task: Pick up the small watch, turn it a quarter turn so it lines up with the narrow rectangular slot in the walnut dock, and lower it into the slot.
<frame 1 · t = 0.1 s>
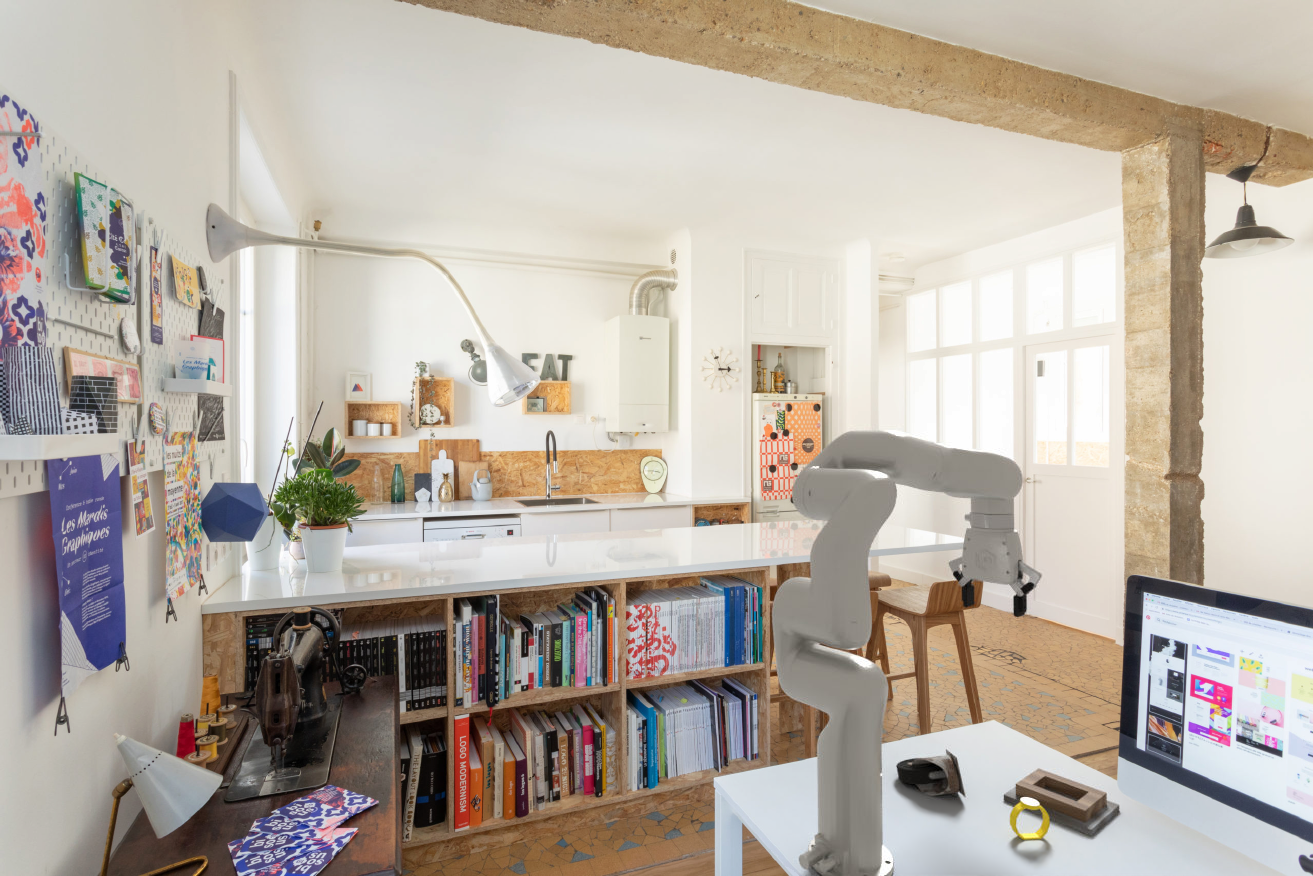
hand: (993, 610, 132), 31 cm above the table, tool pointing down, fingers open, 9 cm apart
dock: (1060, 805, 120), on the table
caster wheel: (927, 788, 127), on the table
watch: (1029, 838, 111), on the table
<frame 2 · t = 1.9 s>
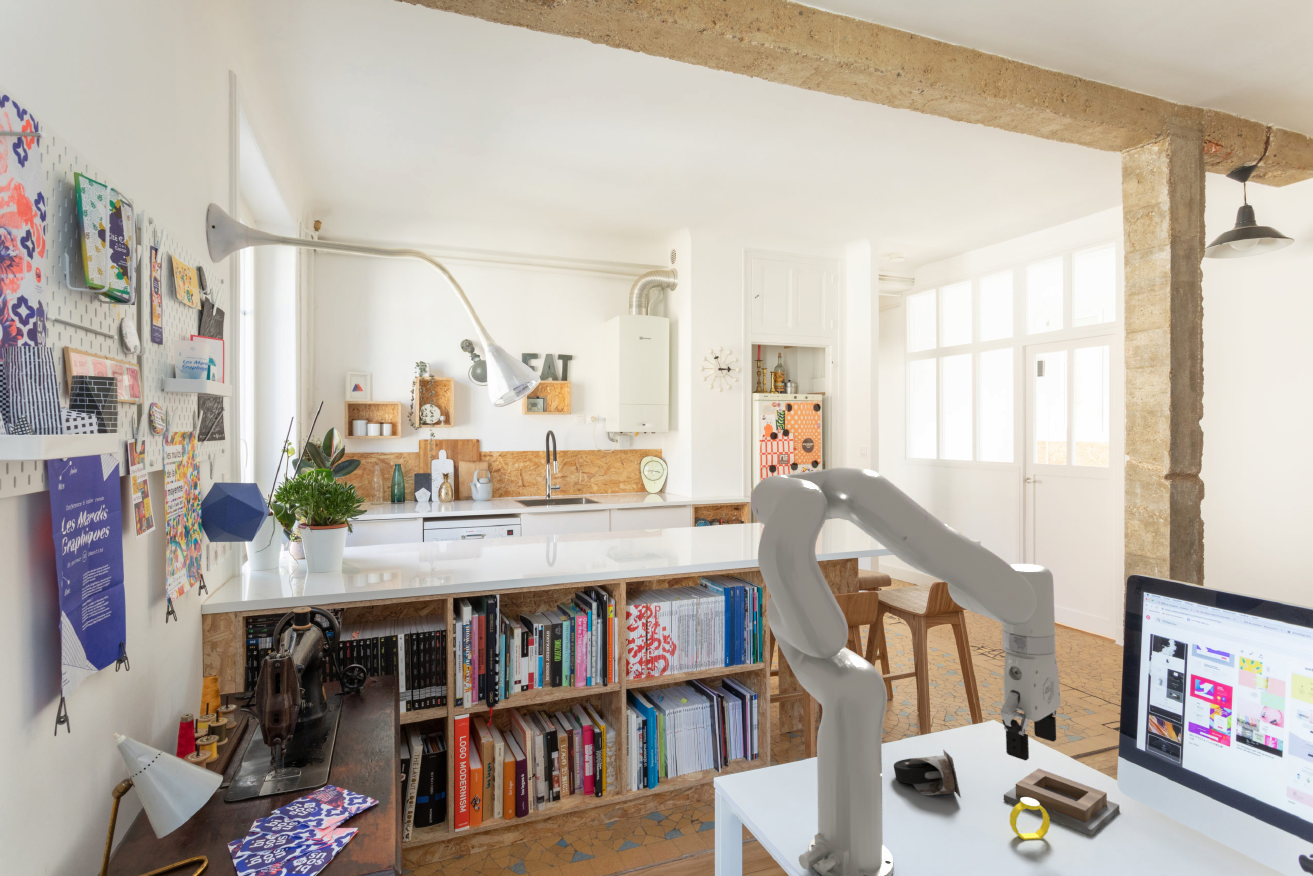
hand: (1031, 747, 111), 14 cm above the table, tool pointing down, fingers open, 9 cm apart
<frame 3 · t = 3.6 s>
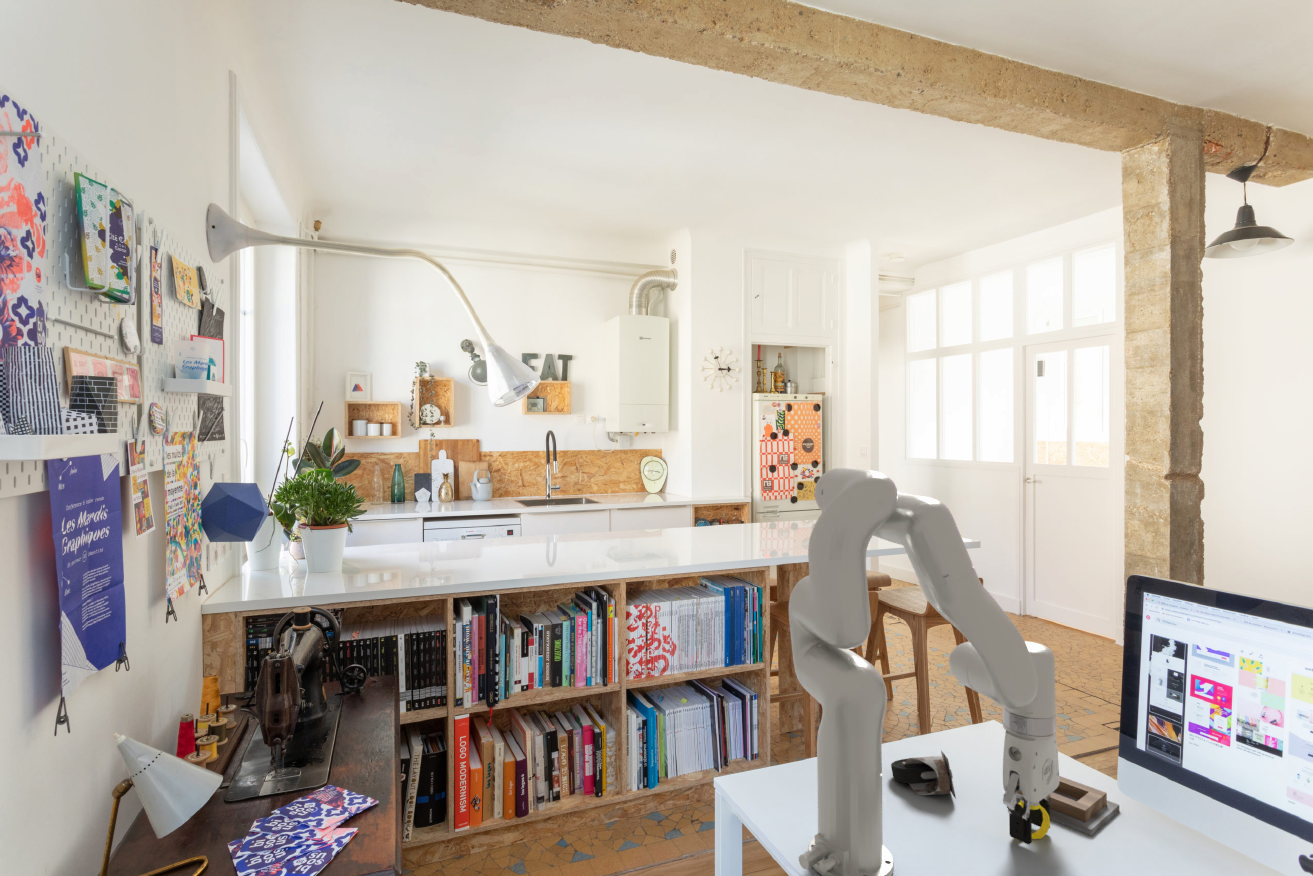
hand: (1029, 831, 111), 1 cm above the table, tool pointing down, fingers closed on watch, 5 cm apart
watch: (1029, 838, 111), on the table, touching gripper
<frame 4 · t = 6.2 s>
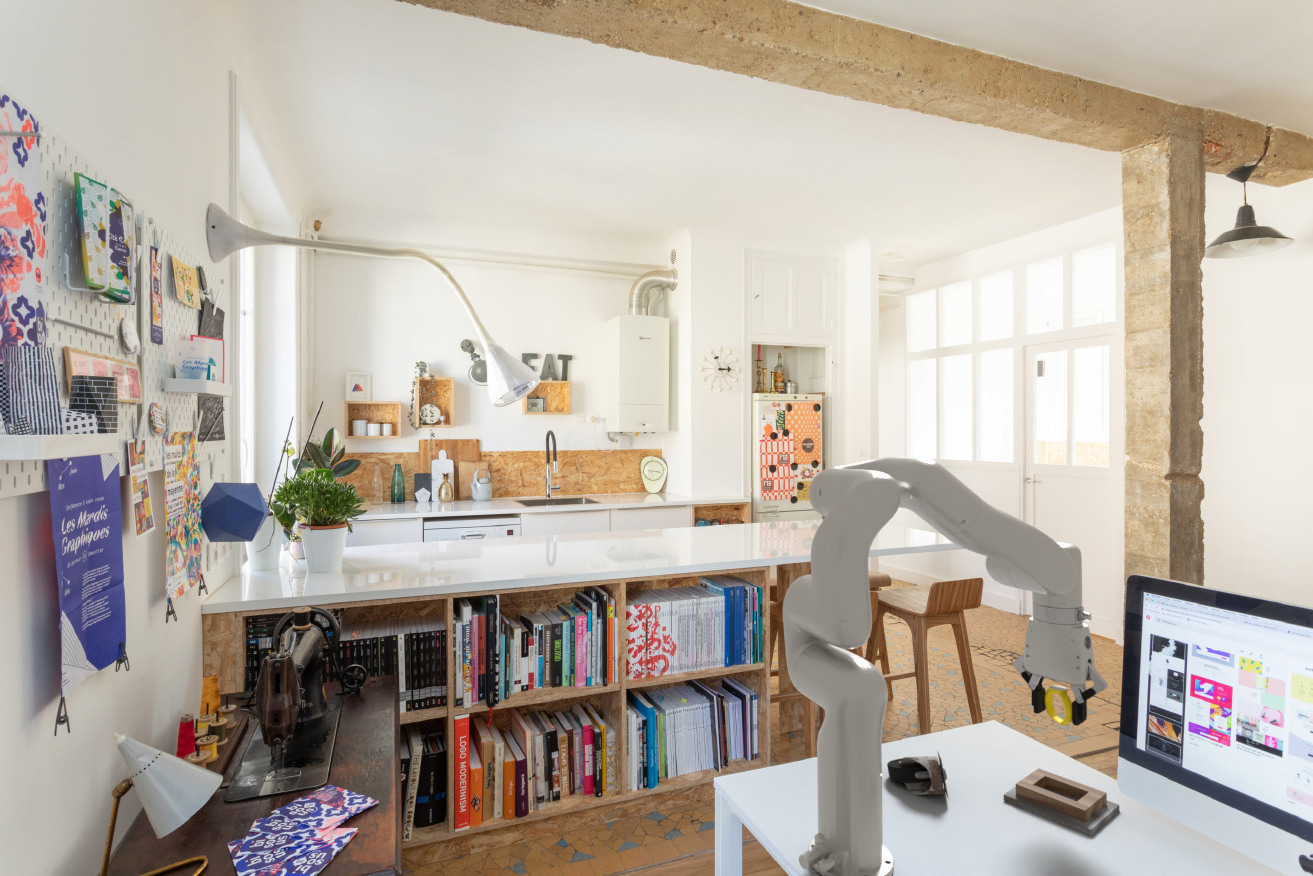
hand: (1058, 716, 120), 16 cm above the table, tool pointing down, fingers closed on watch, 5 cm apart
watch: (1058, 722, 120), point 15 cm above the table, touching gripper
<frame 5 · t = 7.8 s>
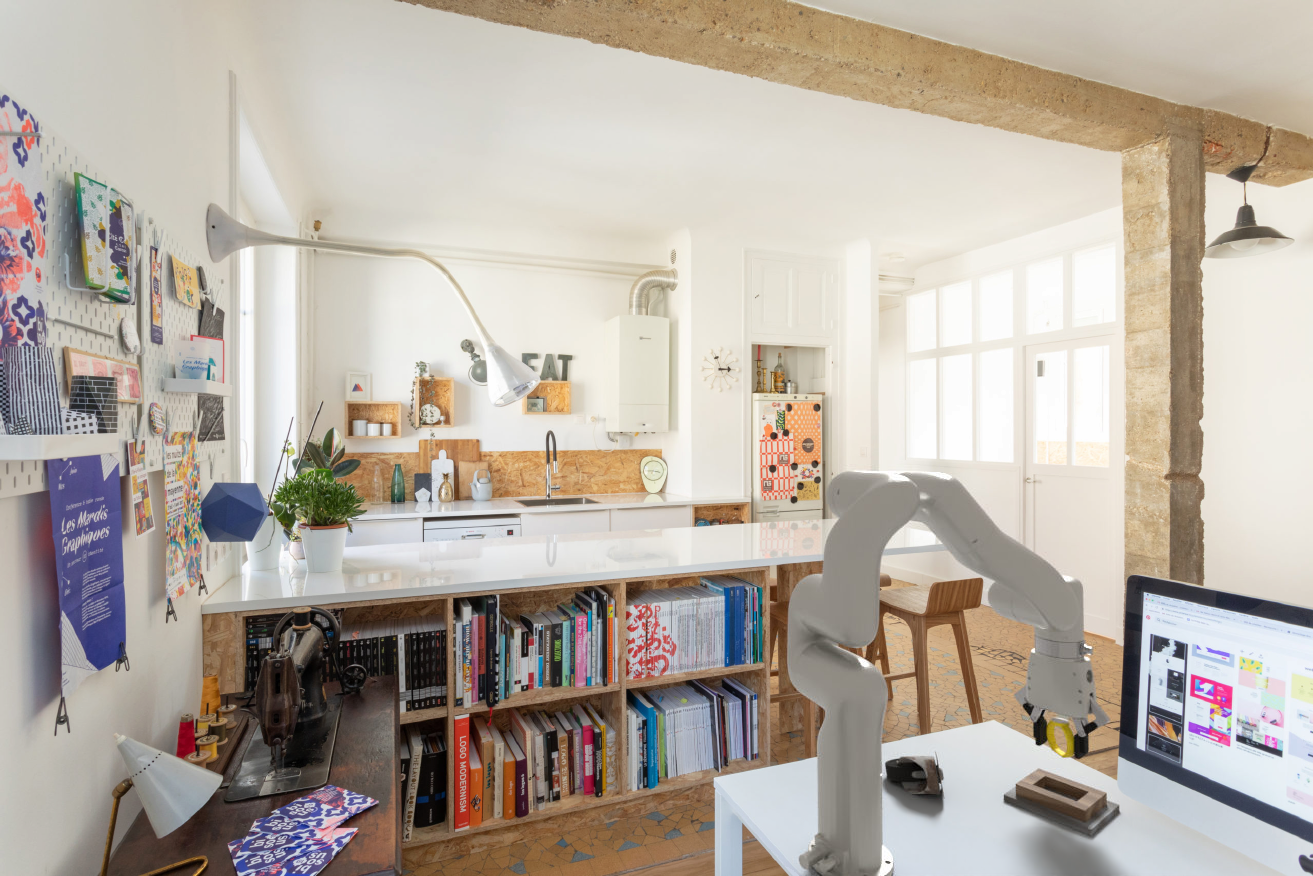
hand: (1060, 748, 120), 10 cm above the table, tool pointing down, fingers closed on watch, 5 cm apart
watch: (1060, 754, 120), point 9 cm above the table, touching gripper
when the fingers open (5 cm above the table, at t = 9.1 s): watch drops 3 cm, resting on dock.
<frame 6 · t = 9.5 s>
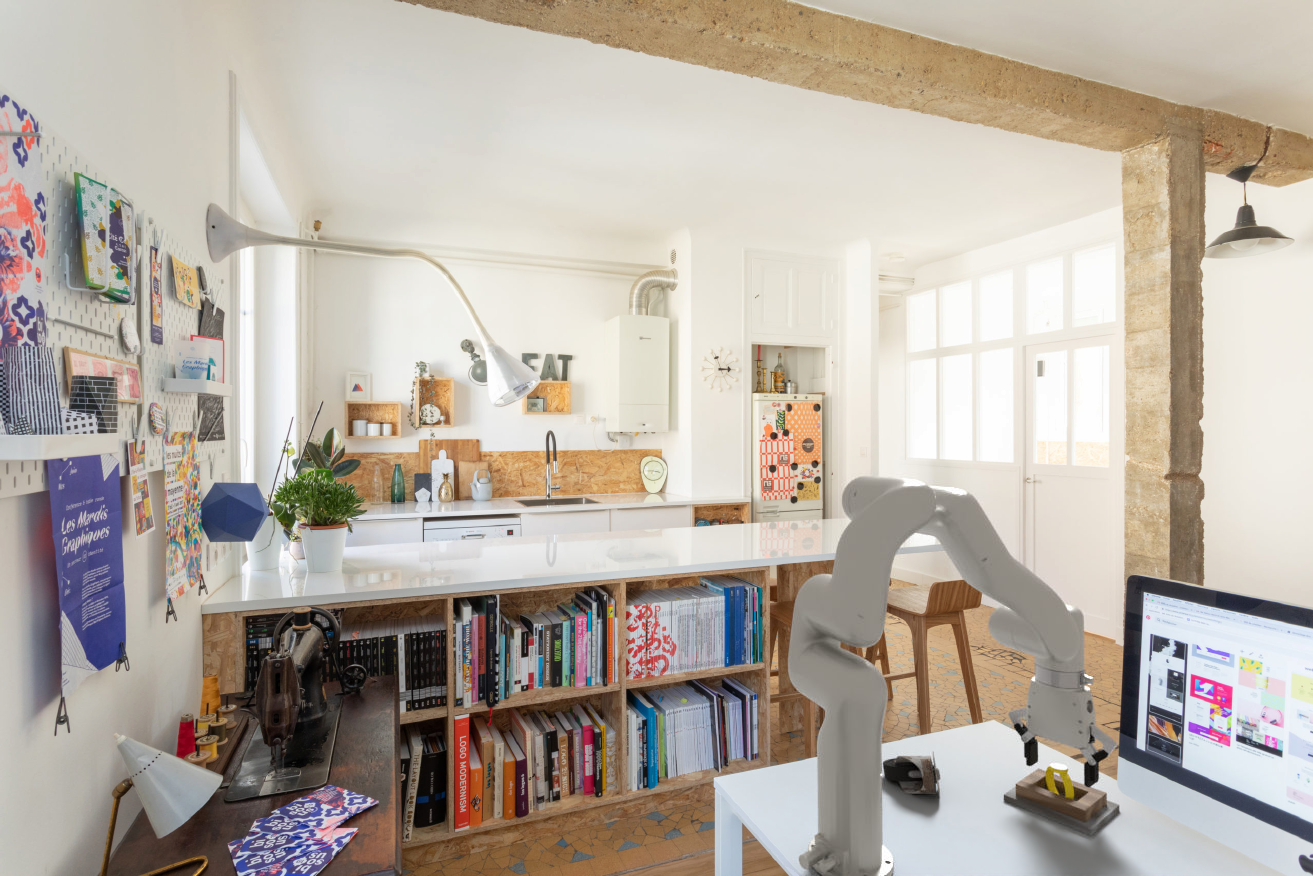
hand: (1060, 773, 120), 6 cm above the table, tool pointing down, fingers open, 9 cm apart
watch: (1059, 801, 120), point 1 cm above the table, touching dock
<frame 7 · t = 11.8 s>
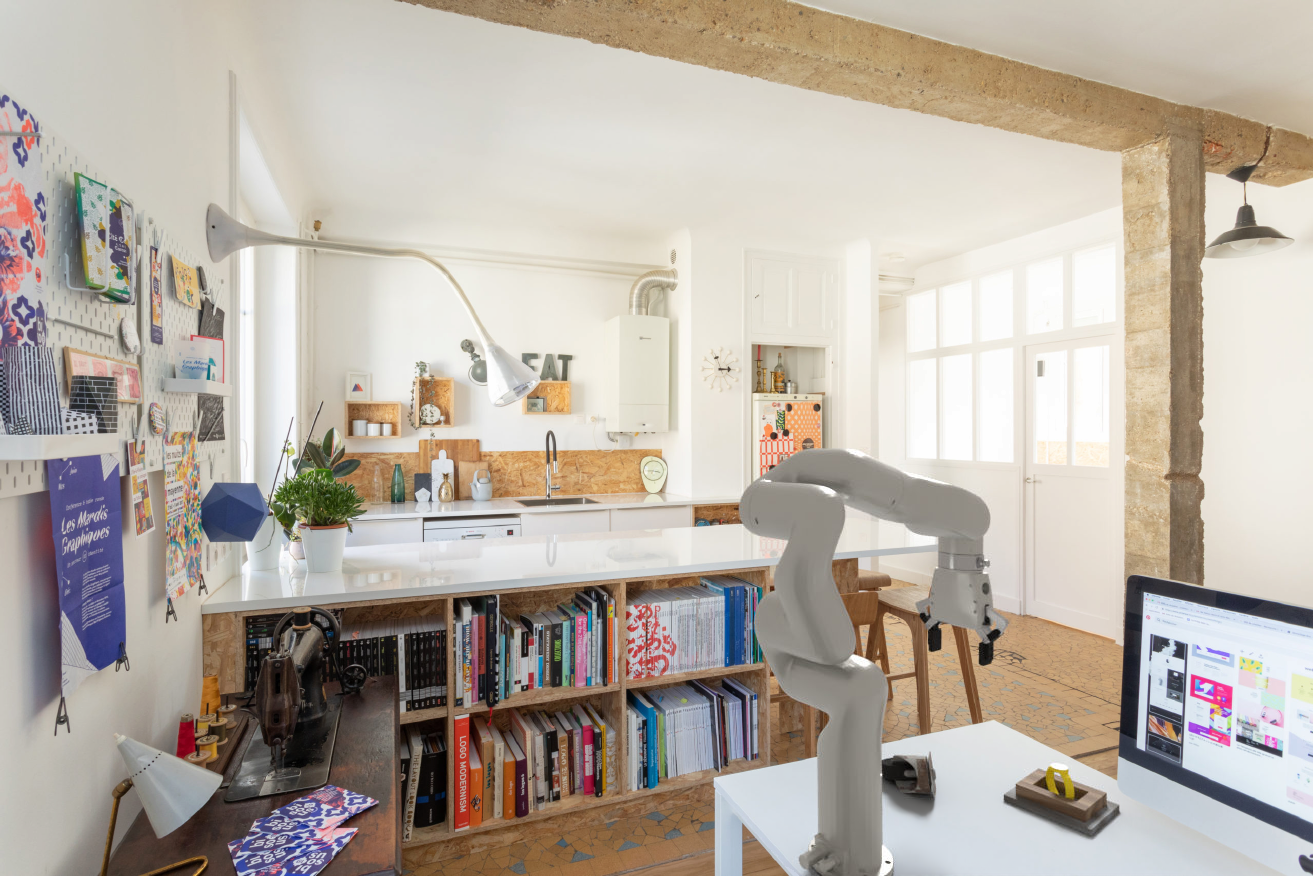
hand: (959, 657, 124), 25 cm above the table, tool pointing down, fingers open, 9 cm apart
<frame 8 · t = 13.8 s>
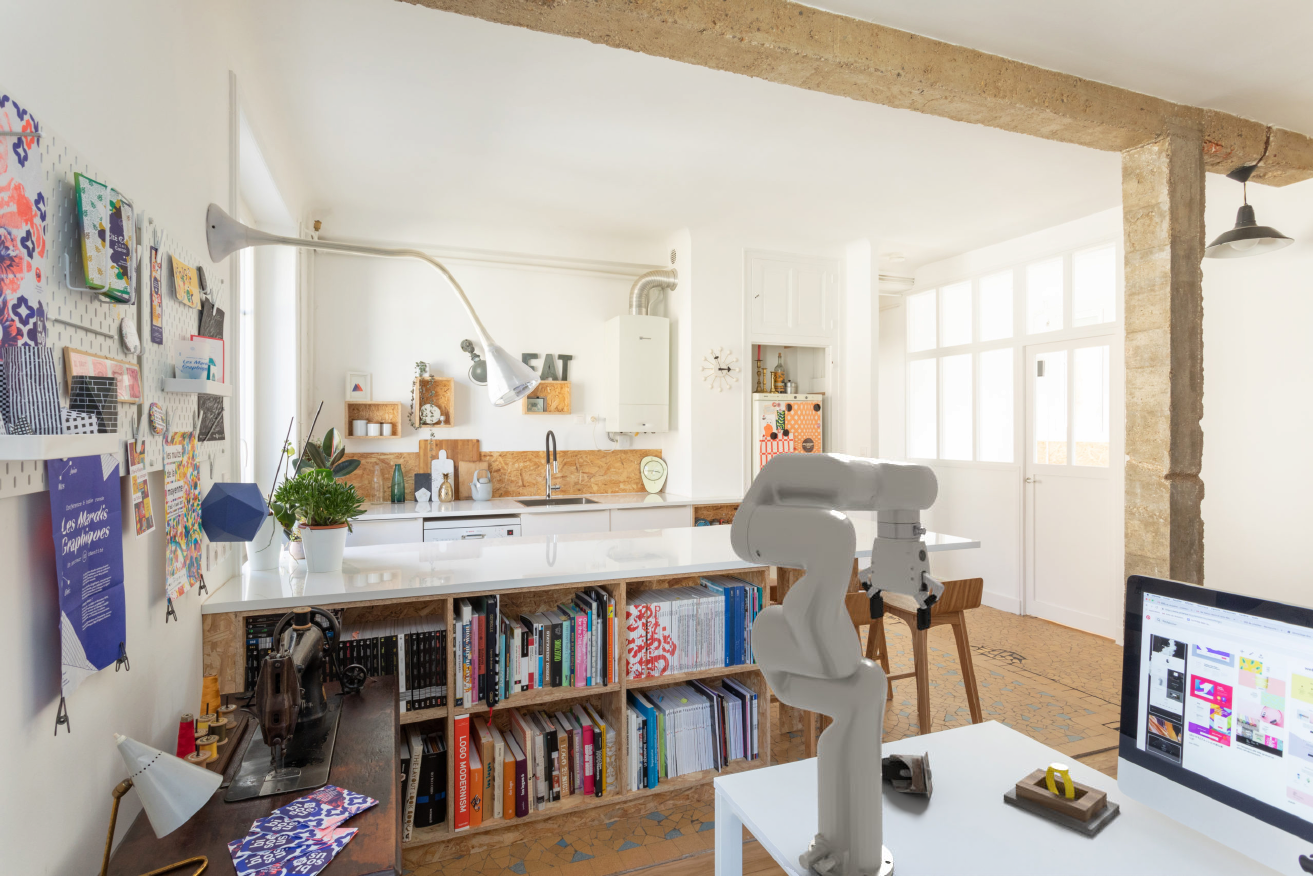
hand: (899, 623, 127), 30 cm above the table, tool pointing down, fingers open, 9 cm apart
at the end: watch 0.2 cm off-centre on the dock, point 0.8 cm above the dock's base; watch tilted 0°; the gripper is holding nothing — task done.
